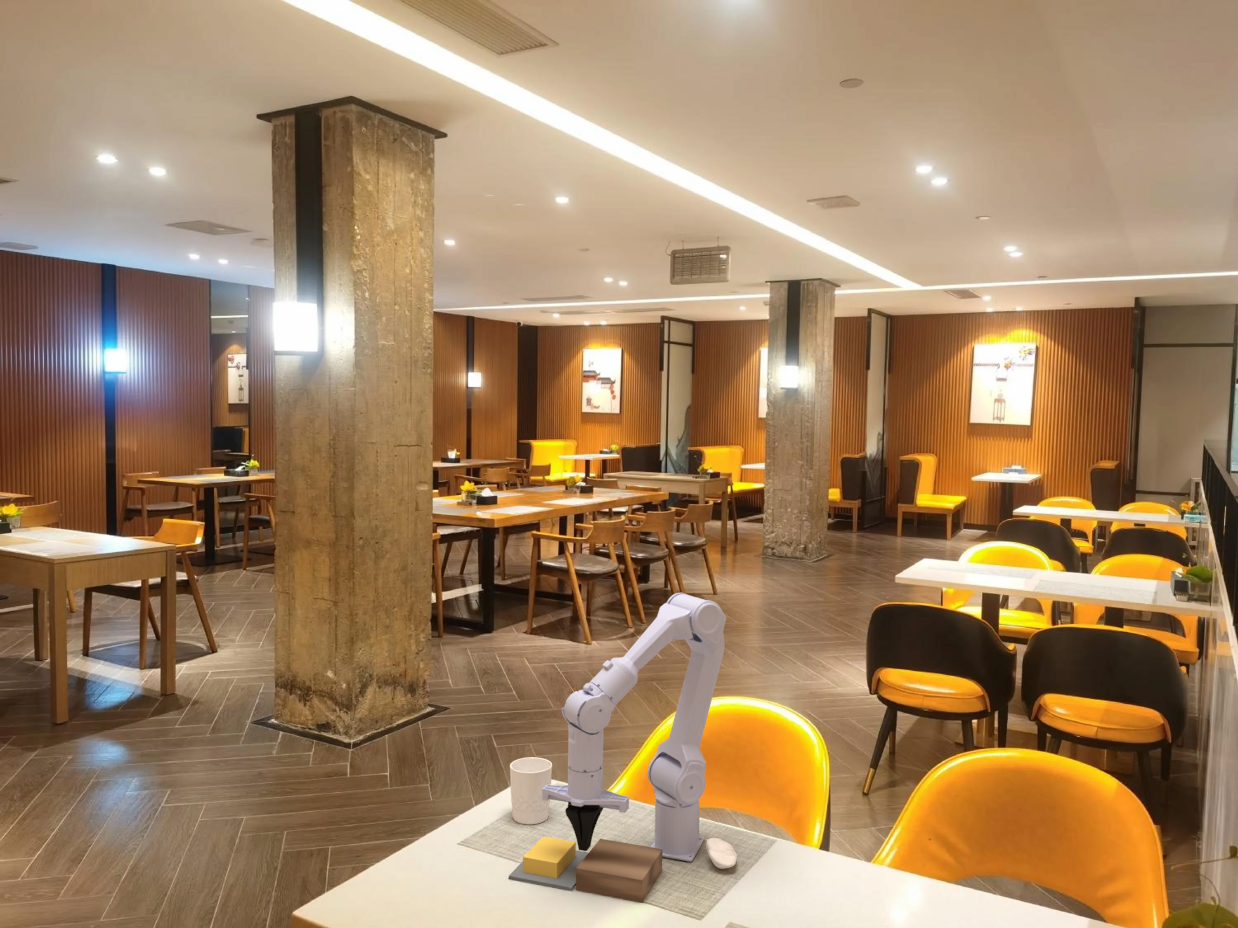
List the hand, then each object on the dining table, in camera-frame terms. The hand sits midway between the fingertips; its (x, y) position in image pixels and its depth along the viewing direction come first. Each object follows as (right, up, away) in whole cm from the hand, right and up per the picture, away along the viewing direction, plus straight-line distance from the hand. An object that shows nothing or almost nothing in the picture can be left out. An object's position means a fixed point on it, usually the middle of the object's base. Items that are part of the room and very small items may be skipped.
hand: (584, 847), depth 147 cm
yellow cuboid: (-6, -2, +2) cm, 7 cm away
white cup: (-11, -4, +21) cm, 24 cm away
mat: (-5, -4, +2) cm, 7 cm away
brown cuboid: (+6, -4, -2) cm, 7 cm away
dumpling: (+23, -5, +3) cm, 24 cm away
